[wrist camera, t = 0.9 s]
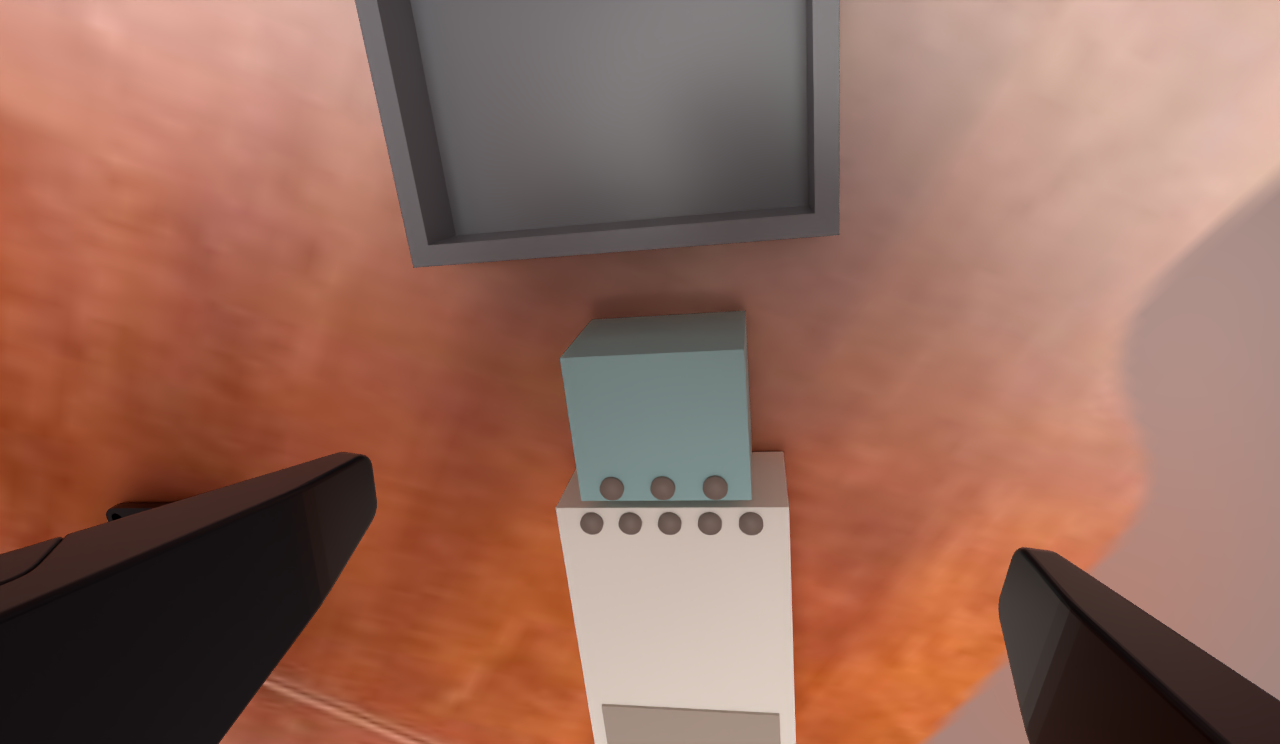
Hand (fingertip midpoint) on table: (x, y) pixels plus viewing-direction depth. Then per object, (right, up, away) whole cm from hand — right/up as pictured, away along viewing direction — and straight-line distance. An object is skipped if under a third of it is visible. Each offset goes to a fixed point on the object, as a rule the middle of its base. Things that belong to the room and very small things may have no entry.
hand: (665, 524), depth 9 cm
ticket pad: (+2, -6, +15) cm, 16 cm away
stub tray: (-1, +10, +10) cm, 14 cm away
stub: (+1, +2, +13) cm, 13 cm away
